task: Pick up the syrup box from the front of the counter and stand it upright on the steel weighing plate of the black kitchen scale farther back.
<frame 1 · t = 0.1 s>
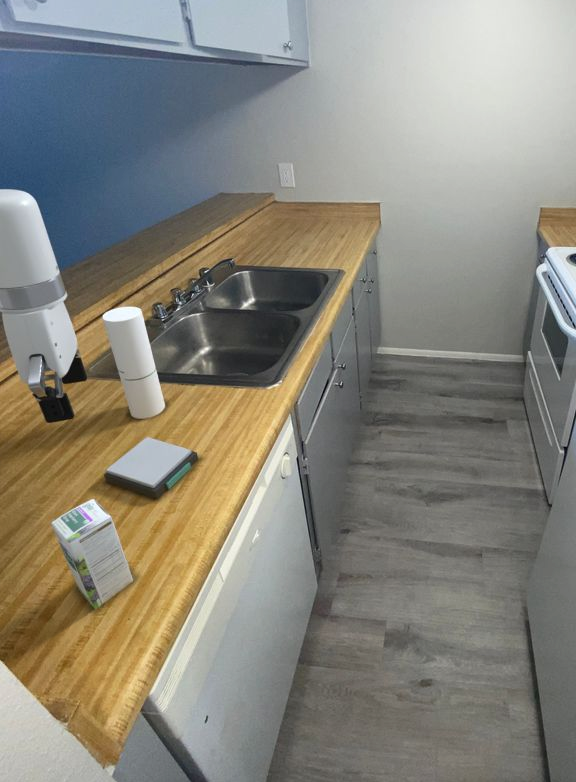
hand: (68, 399, 68), 27 cm above the worktop, tool pointing down, fingers open, 9 cm apart
scale: (154, 472, 93), on the worktop
cylindrical container: (148, 411, 110), on the worktop
syrup box: (107, 585, 72), on the worktop
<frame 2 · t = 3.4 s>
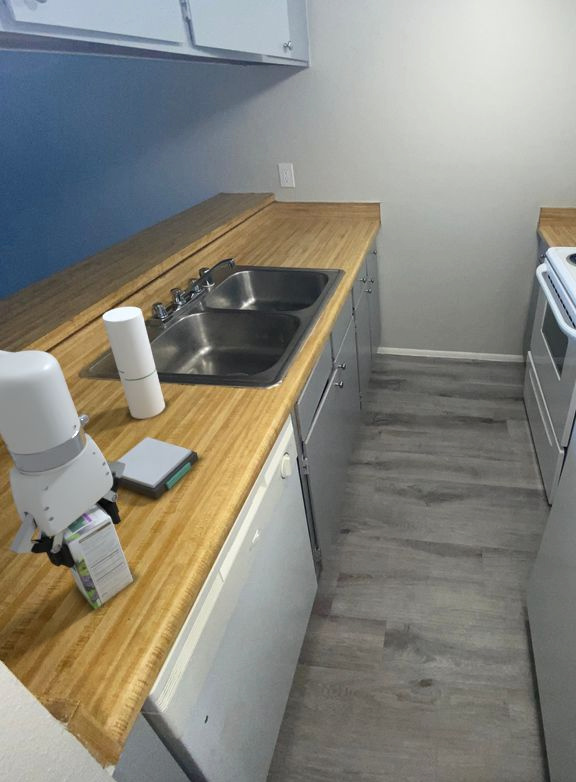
hand: (88, 540, 67), 10 cm above the worktop, tool pointing down, fingers closed on syrup box, 6 cm apart
syrup box: (107, 585, 72), on the worktop, touching gripper
everything else where it was.
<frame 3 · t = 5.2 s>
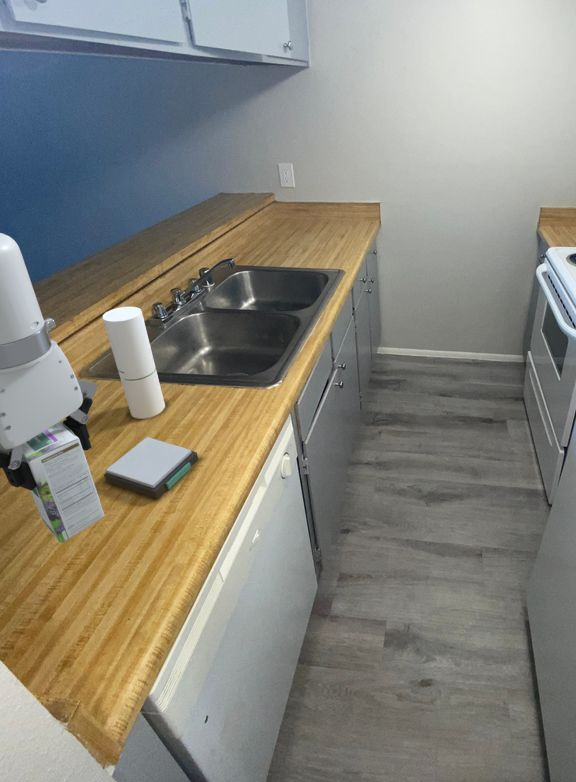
hand: (54, 464, 61), 24 cm above the worktop, tool pointing down, fingers closed on syrup box, 6 cm apart
syrup box: (75, 520, 65), point 14 cm above the worktop, touching gripper
everything else where it was.
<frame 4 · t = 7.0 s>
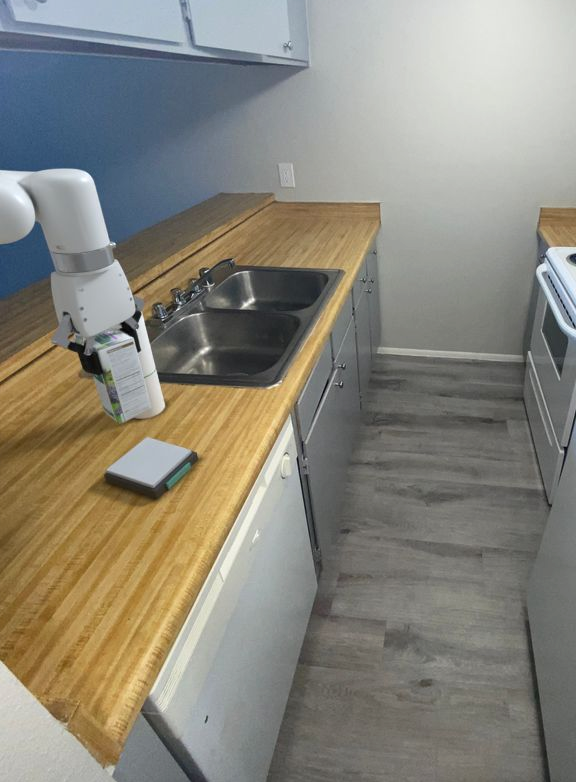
hand: (114, 360, 78), 27 cm above the worktop, tool pointing down, fingers closed on syrup box, 6 cm apart
syrup box: (128, 411, 82), point 17 cm above the worktop, touching gripper
everything else where it was.
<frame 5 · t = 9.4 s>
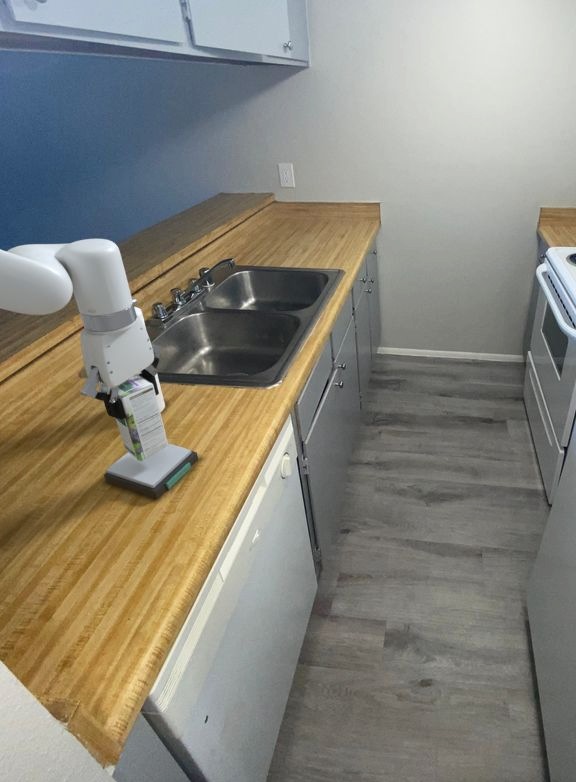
hand: (135, 404, 85), 17 cm above the worktop, tool pointing down, fingers closed on syrup box, 6 cm apart
syrup box: (147, 448, 90), point 6 cm above the worktop, touching gripper
everything else where it was.
when the fingers open (13 cm above the worktop, at t = 10.9 s): syrup box stays where it is, resting on scale.
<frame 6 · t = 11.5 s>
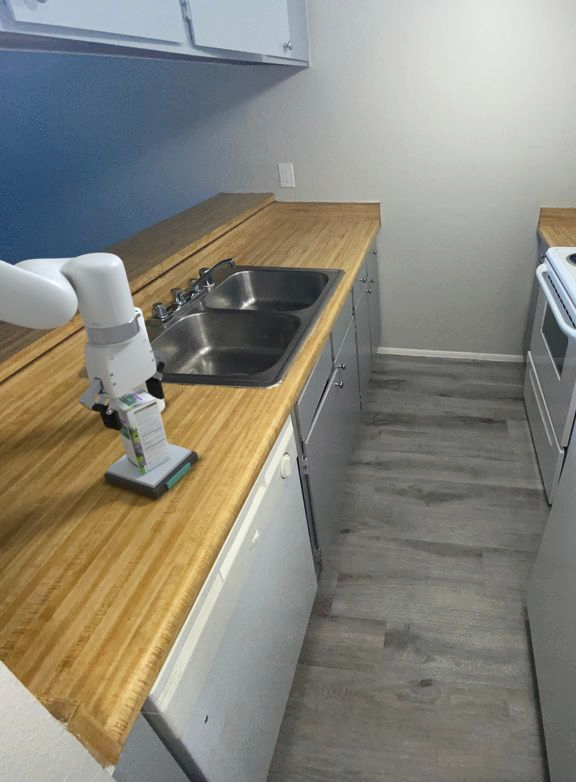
hand: (136, 412, 86), 15 cm above the worktop, tool pointing down, fingers open, 9 cm apart
syrup box: (150, 460, 91), point 3 cm above the worktop, touching scale
everything else where it was.
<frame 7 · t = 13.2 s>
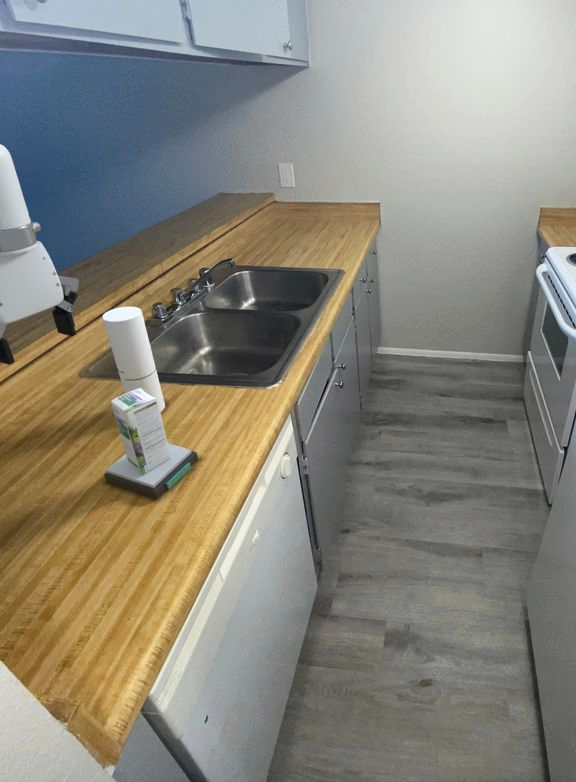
hand: (38, 347, 72), 32 cm above the worktop, tool pointing down, fingers open, 9 cm apart
nothing on the worktop moved.
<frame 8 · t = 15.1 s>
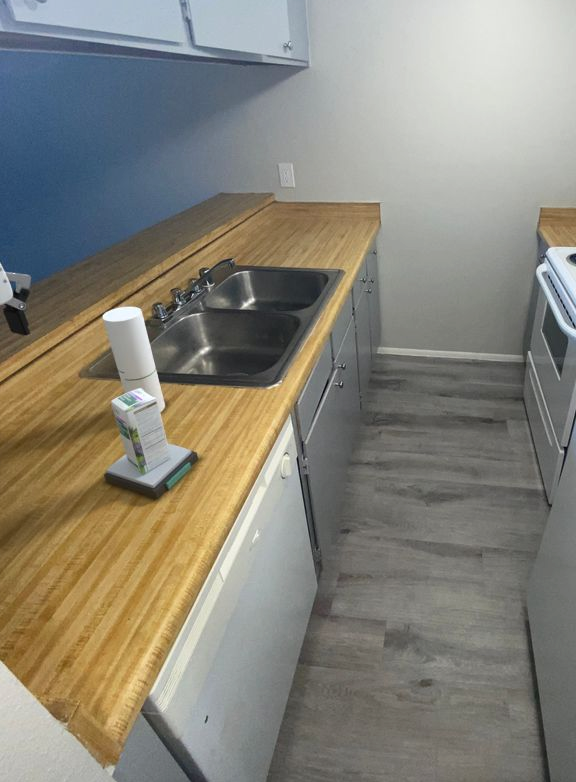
nothing on the worktop moved.
at the end: syrup box inside the target area on the scale (0.1 cm from its centre), point 3.1 cm above the scale's base; syrup box tilted 0°; the gripper is holding nothing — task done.
